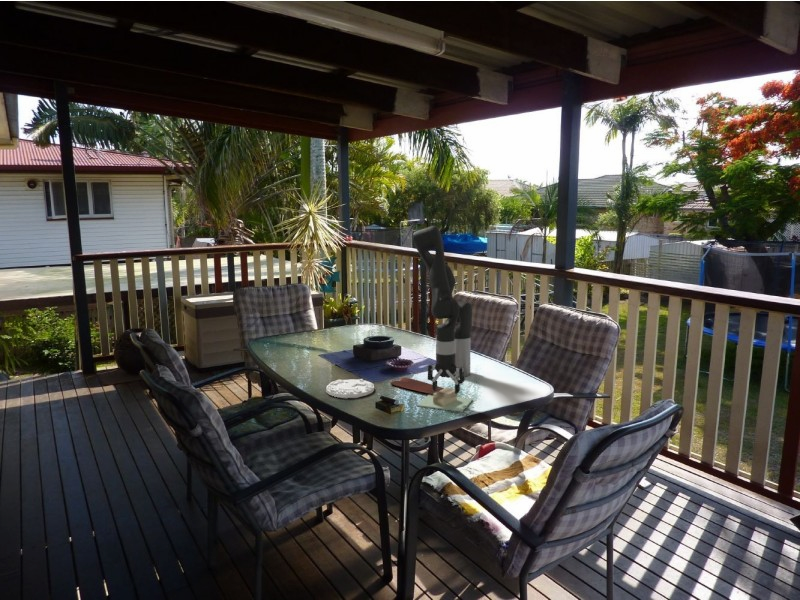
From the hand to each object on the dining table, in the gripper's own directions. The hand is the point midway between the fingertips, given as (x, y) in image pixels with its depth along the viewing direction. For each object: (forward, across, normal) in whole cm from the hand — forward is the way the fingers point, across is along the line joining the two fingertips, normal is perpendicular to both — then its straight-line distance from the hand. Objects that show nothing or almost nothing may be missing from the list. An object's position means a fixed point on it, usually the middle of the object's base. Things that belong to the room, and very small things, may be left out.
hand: (446, 391), depth 225 cm
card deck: (+4, 0, 0) cm, 4 cm away
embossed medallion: (+5, -42, +1) cm, 43 cm away
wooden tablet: (+4, -16, +13) cm, 21 cm away
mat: (+5, 0, 0) cm, 5 cm away
